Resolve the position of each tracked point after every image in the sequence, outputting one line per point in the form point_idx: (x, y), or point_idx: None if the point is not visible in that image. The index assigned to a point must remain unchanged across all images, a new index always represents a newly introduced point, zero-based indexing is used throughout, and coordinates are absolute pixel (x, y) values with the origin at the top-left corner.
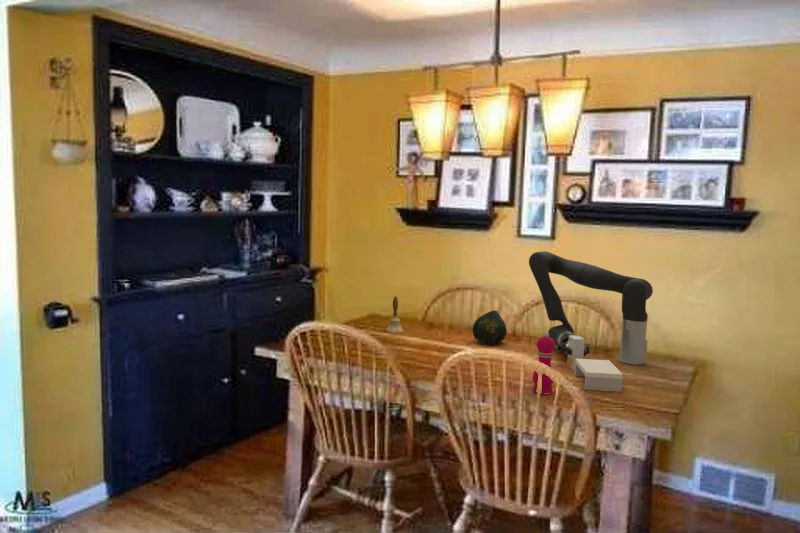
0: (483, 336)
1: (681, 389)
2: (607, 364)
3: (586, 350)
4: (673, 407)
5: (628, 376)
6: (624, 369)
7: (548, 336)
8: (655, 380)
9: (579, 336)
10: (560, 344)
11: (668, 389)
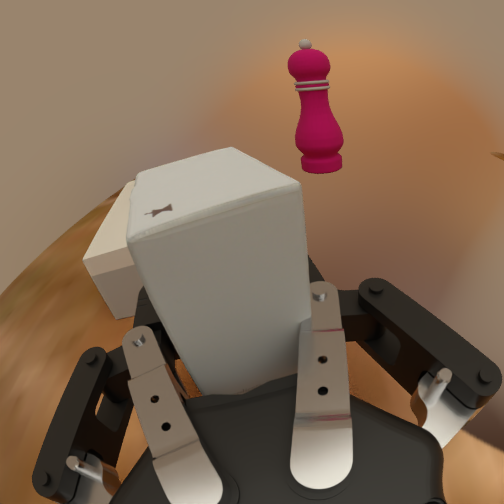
0: None
1: (5, 290)
2: (122, 217)
3: (137, 304)
4: (92, 210)
5: (43, 346)
6: (8, 437)
7: (300, 47)
8: (2, 332)
9: (145, 204)
10: (418, 337)
11: (28, 279)
